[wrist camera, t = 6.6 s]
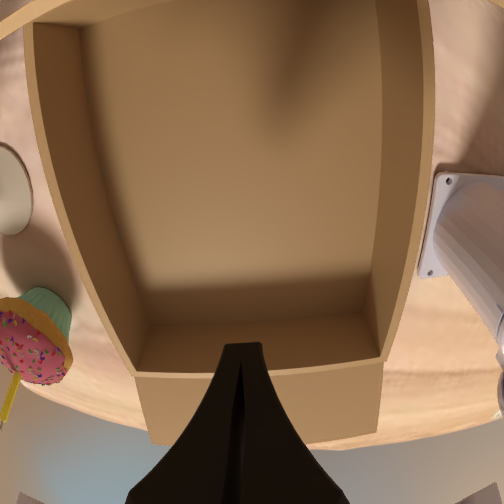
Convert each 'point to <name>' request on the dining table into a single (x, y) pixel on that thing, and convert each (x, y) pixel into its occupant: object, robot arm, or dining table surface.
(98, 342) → the dining table surface
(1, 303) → the cupcake
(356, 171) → the carton
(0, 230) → the wineglass
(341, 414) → the flap
